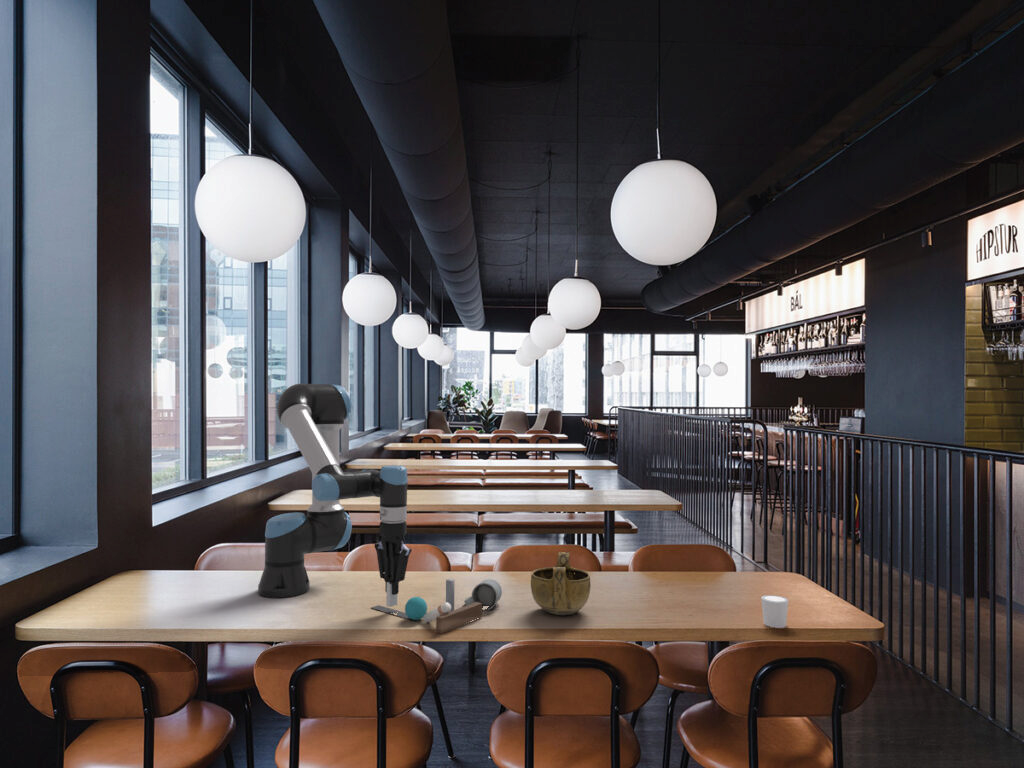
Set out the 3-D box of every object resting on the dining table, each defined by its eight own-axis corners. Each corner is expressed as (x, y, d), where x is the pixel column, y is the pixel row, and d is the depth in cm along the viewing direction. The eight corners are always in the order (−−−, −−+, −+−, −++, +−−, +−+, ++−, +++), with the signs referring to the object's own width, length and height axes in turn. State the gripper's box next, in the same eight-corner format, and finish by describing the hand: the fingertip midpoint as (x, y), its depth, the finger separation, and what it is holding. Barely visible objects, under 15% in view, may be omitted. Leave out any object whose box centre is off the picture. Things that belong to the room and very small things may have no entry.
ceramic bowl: (589, 627, 172) (589, 570, 172) (525, 623, 174) (526, 567, 175) (591, 602, 194) (591, 551, 194) (534, 598, 196) (535, 549, 197)
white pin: (421, 615, 174) (442, 603, 169) (428, 612, 176) (449, 601, 171) (424, 624, 173) (446, 612, 168) (431, 621, 175) (452, 610, 170)
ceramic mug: (503, 602, 192) (503, 576, 192) (497, 611, 184) (496, 584, 184) (468, 601, 194) (468, 575, 195) (461, 609, 186) (460, 582, 187)
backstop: (436, 632, 167) (436, 616, 167) (476, 616, 179) (476, 601, 180) (441, 634, 165) (442, 618, 166) (481, 618, 178) (482, 603, 178)
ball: (419, 615, 172) (406, 626, 174) (435, 609, 176) (423, 620, 179) (408, 595, 174) (397, 606, 177) (425, 590, 179) (413, 601, 182)
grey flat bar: (370, 608, 186) (370, 607, 186) (378, 605, 188) (378, 605, 188) (410, 620, 176) (410, 619, 176) (418, 617, 178) (418, 616, 178)
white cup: (756, 620, 179) (756, 594, 179) (780, 619, 180) (780, 594, 180) (768, 629, 172) (768, 602, 172) (793, 628, 173) (793, 602, 173)
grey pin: (443, 612, 182) (444, 580, 183) (449, 610, 184) (450, 578, 185) (450, 614, 181) (450, 581, 181) (455, 612, 183) (456, 580, 183)
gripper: (367, 520, 184) (365, 603, 183) (399, 525, 176) (397, 613, 176) (387, 516, 190) (386, 597, 189) (419, 521, 182) (417, 606, 182)
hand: (391, 605), depth 183 cm, fingers closed
